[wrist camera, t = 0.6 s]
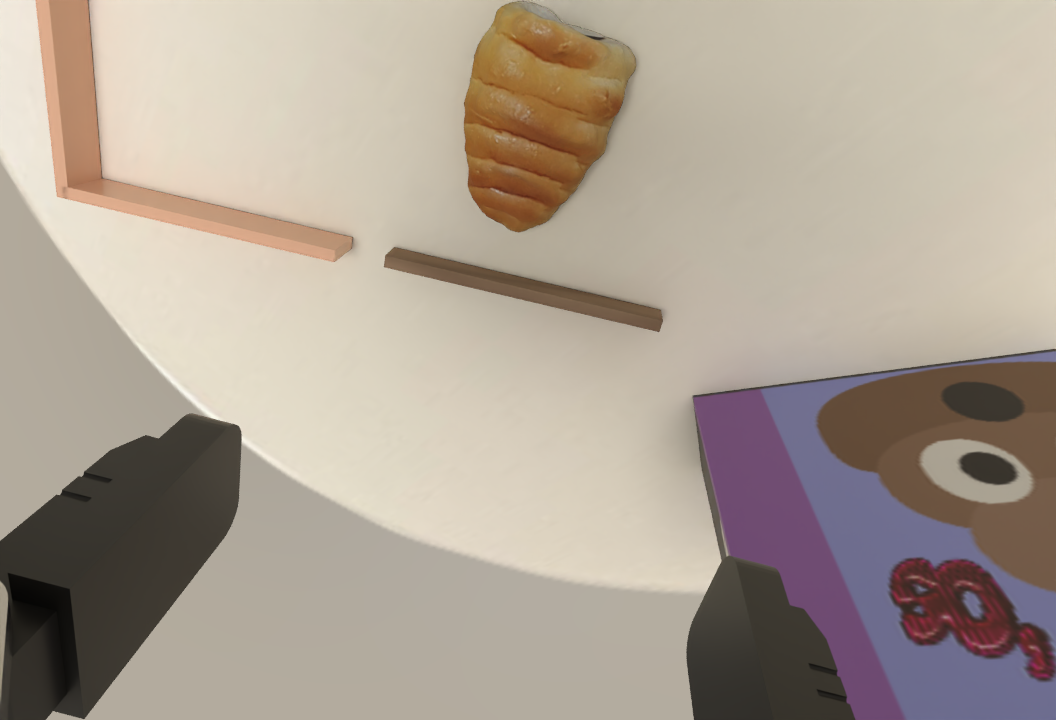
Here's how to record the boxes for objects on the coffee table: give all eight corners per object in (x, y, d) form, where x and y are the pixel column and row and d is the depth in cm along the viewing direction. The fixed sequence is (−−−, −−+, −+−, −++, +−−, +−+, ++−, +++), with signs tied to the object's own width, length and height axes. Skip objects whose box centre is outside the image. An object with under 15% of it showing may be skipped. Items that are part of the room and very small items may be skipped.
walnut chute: (441, -144, 27) (432, -154, 26) (780, -67, 27) (790, -73, 25) (392, 258, 34) (384, 267, 33) (657, 320, 34) (659, 331, 33)
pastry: (570, 241, 33) (564, 263, 30) (442, 195, 33) (422, 212, 30) (643, 43, 29) (646, 43, 26) (497, -10, 29) (481, -18, 26)
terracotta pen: (55, -233, 27) (7, -257, 25) (388, -156, 27) (369, -174, 25) (91, 187, 35) (57, 196, 32) (351, 248, 34) (334, 262, 32)
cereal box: (1054, 348, 33) (1920, 939, 11) (1044, 431, 35) (1768, 1074, 13) (692, 395, 36) (818, 922, 14) (702, 469, 38) (824, 1032, 16)
